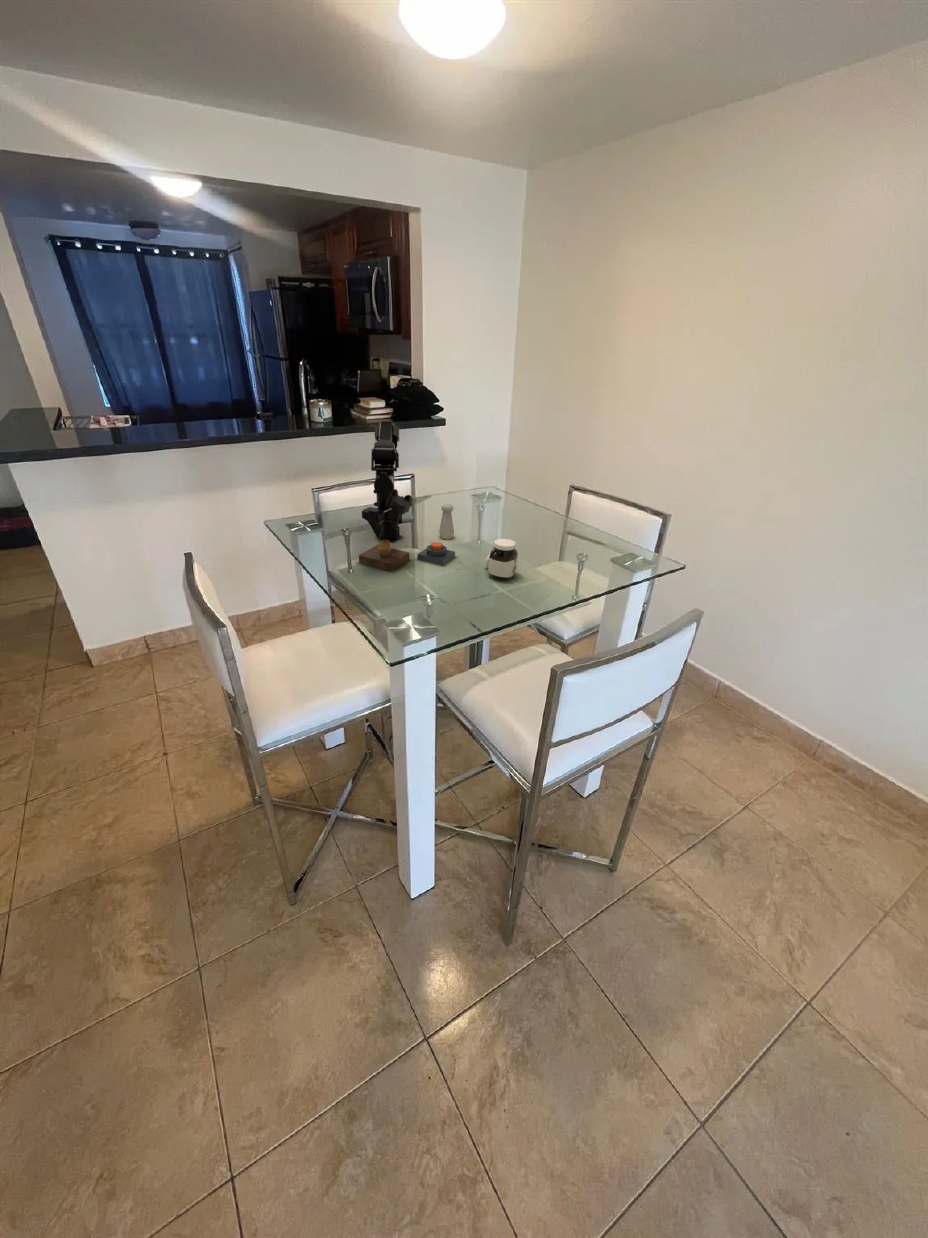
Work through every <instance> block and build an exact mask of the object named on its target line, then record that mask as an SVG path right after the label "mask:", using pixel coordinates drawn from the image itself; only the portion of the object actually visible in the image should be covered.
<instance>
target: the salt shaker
mask: <svg viewBox="0 0 928 1238" xmlns="http://www.w3.org/2000/svg"><path fill="white" fill-rule="evenodd" d="M441 511H442V514H441V519H440V524H439V529H438V534H439V536H440V538H441V539H442V540H447V541H448V540H452V539H453V536H454V534H455V529H454V528H455V527H454V522H453V515H452V513H453V511H454V506H453V504H451V503H443V504H442V505H441Z"/></svg>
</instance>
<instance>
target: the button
mask: <svg viewBox="0 0 928 1238" xmlns="http://www.w3.org/2000/svg"><path fill="white" fill-rule="evenodd" d="M430 545H431V549H432V550H442V545H444V544H443V542H439V541H434V542H431V543H430Z"/></svg>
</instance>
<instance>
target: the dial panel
mask: <svg viewBox="0 0 928 1238" xmlns="http://www.w3.org/2000/svg"><path fill="white" fill-rule="evenodd" d="M409 561H410V552H409V551H404V550H401V549H396V548H392V547H390V555H387V556H381V555H379V554H378V544H376V545H374V546H373V547H371V548H369V549H367V550H365V551H363V552H362V553H360V554H358V564H361V565H364V566H368V567H373V568H376V569H380V570H383V571H387V572H394V571H395V570H397V569H399V568H400V567H401V566H403V565H405V564H406V563H408V562H409Z"/></svg>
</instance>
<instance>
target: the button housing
mask: <svg viewBox="0 0 928 1238" xmlns="http://www.w3.org/2000/svg"><path fill="white" fill-rule="evenodd" d="M455 558H456V551H454V550H450V549H448V548H447V546H446V545H444V544H443V545H442V550H432V549H431V544H429V545H427V546H426V548H425V549H423V550H422V551H420V552H418V553H417V561H421V562H424V563H430V564H433V565H438V566H442V567H443V566H445V565H447V564H448V563H449V562H450V561H452V560H453V559H455Z"/></svg>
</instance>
